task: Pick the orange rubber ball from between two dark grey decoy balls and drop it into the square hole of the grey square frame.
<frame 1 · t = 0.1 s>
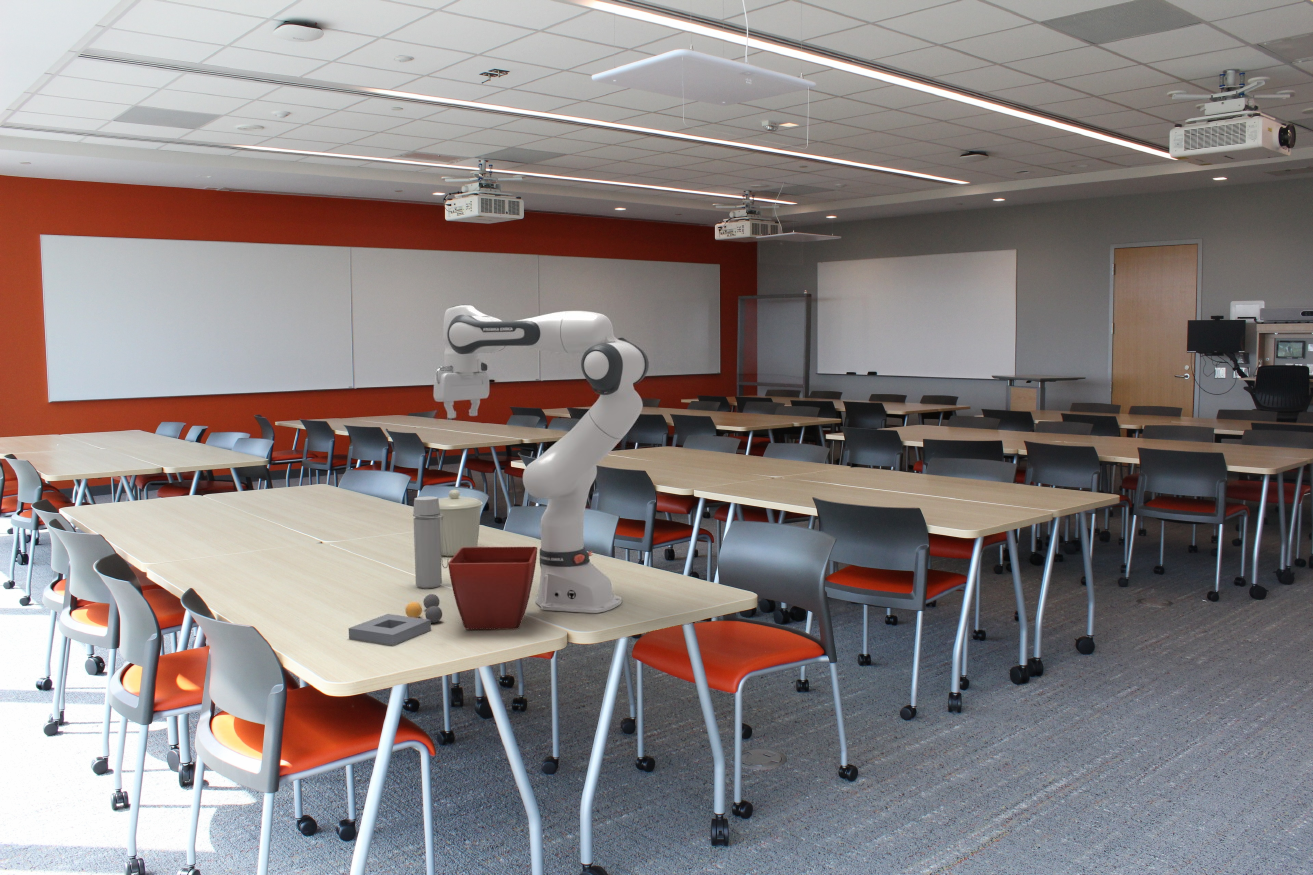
hand: (462, 416, 255), 48 cm above the table, tool pointing down, fingers open, 8 cm apart
water bottle: (432, 586, 265), on the table
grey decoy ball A: (433, 614, 228), point 2 cm above the table
canister: (456, 554, 308), on the table
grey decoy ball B: (431, 601, 240), point 2 cm above the table
grey square frame: (390, 634, 219), on the table
orange ball: (413, 610, 232), point 2 cm above the table
plant pot: (496, 623, 228), on the table
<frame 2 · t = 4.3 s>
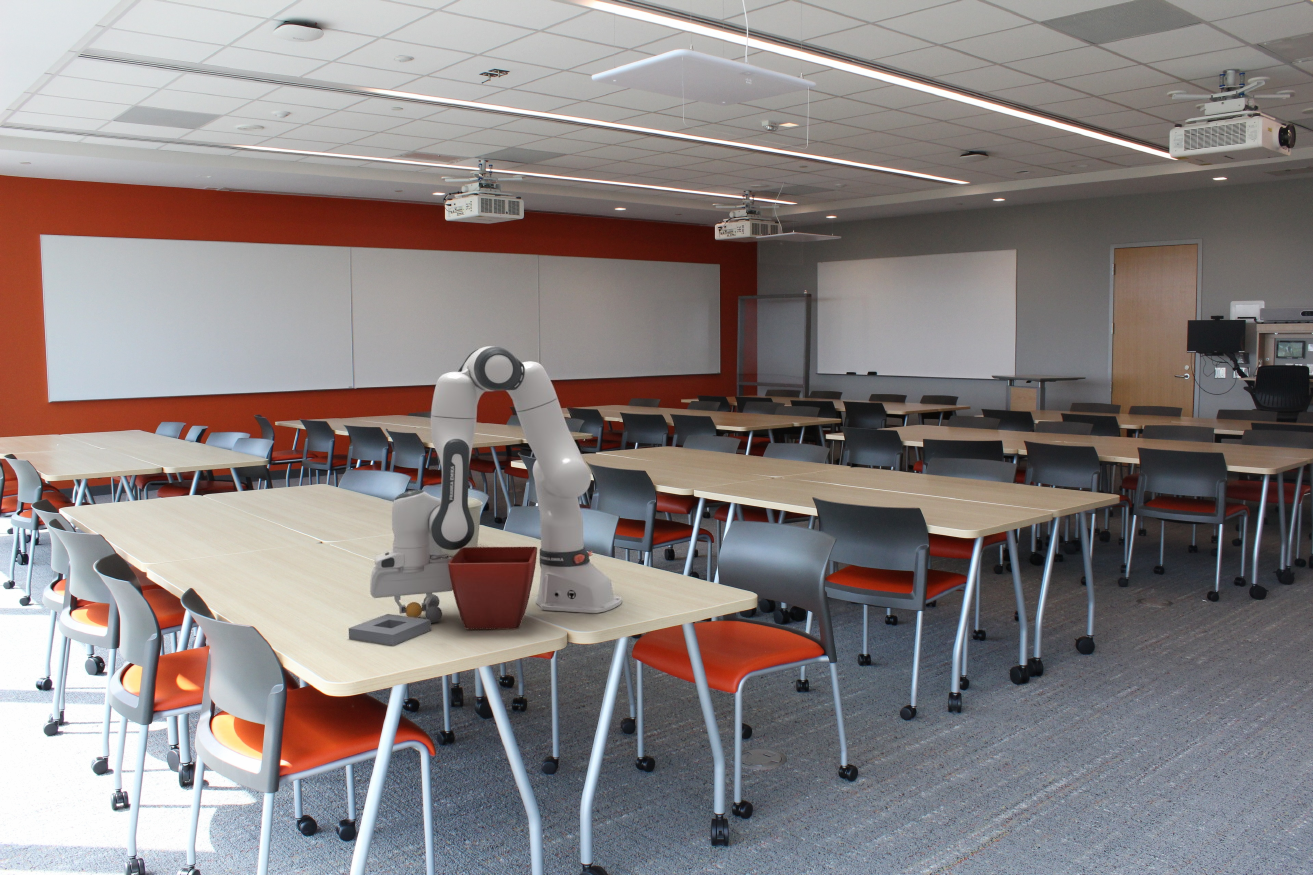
hand: (413, 611, 232), 2 cm above the table, tool pointing down, fingers closed on orange ball, 4 cm apart
orange ball: (413, 610, 232), point 2 cm above the table, touching gripper
everything else where it was.
when the fingers open (6 cm above the table, at t = 7.7 s): orange ball drops 4 cm, point 2 cm above the table.
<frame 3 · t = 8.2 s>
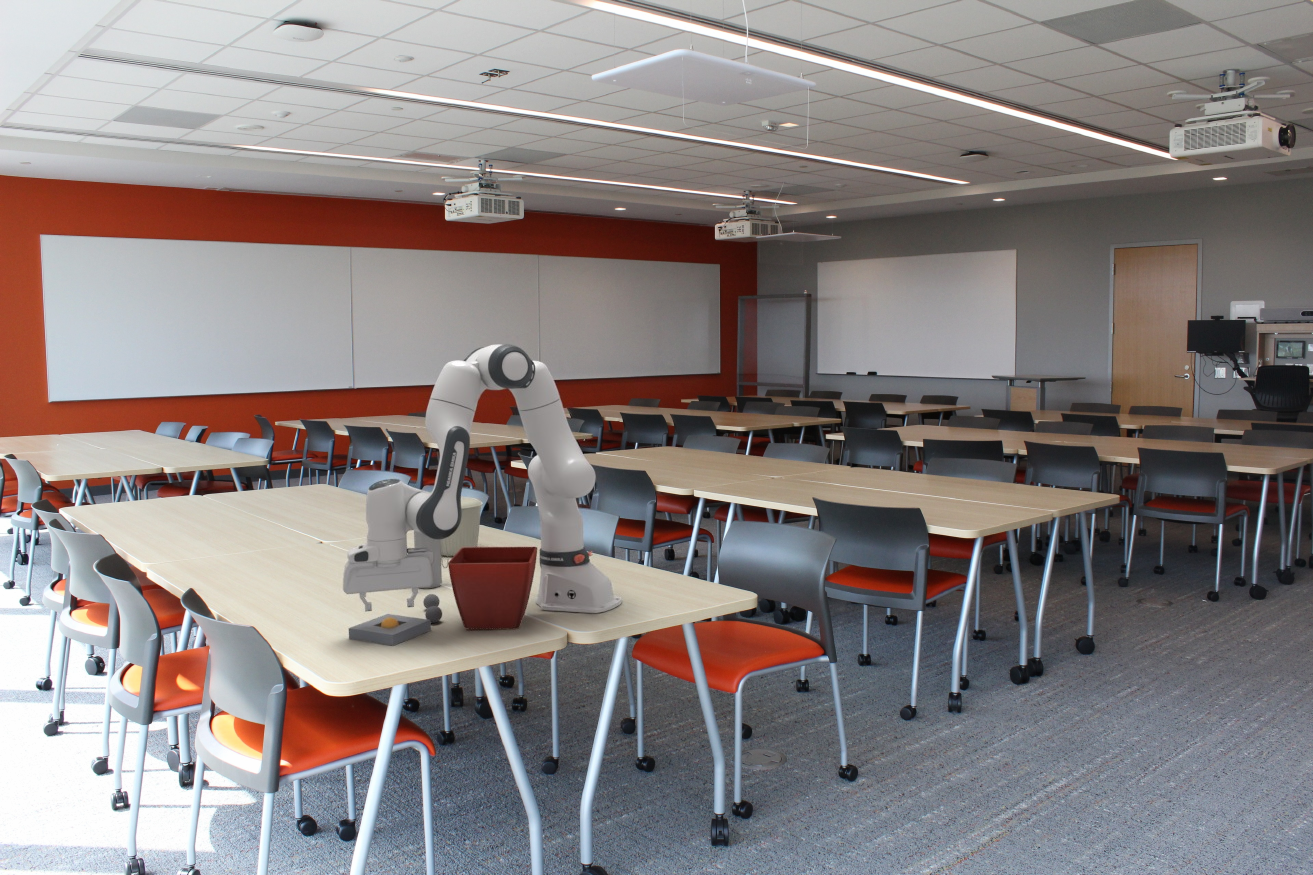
hand: (389, 608, 218), 6 cm above the table, tool pointing down, fingers open, 8 cm apart
orange ball: (389, 625, 219), point 2 cm above the table
everything else where it was.
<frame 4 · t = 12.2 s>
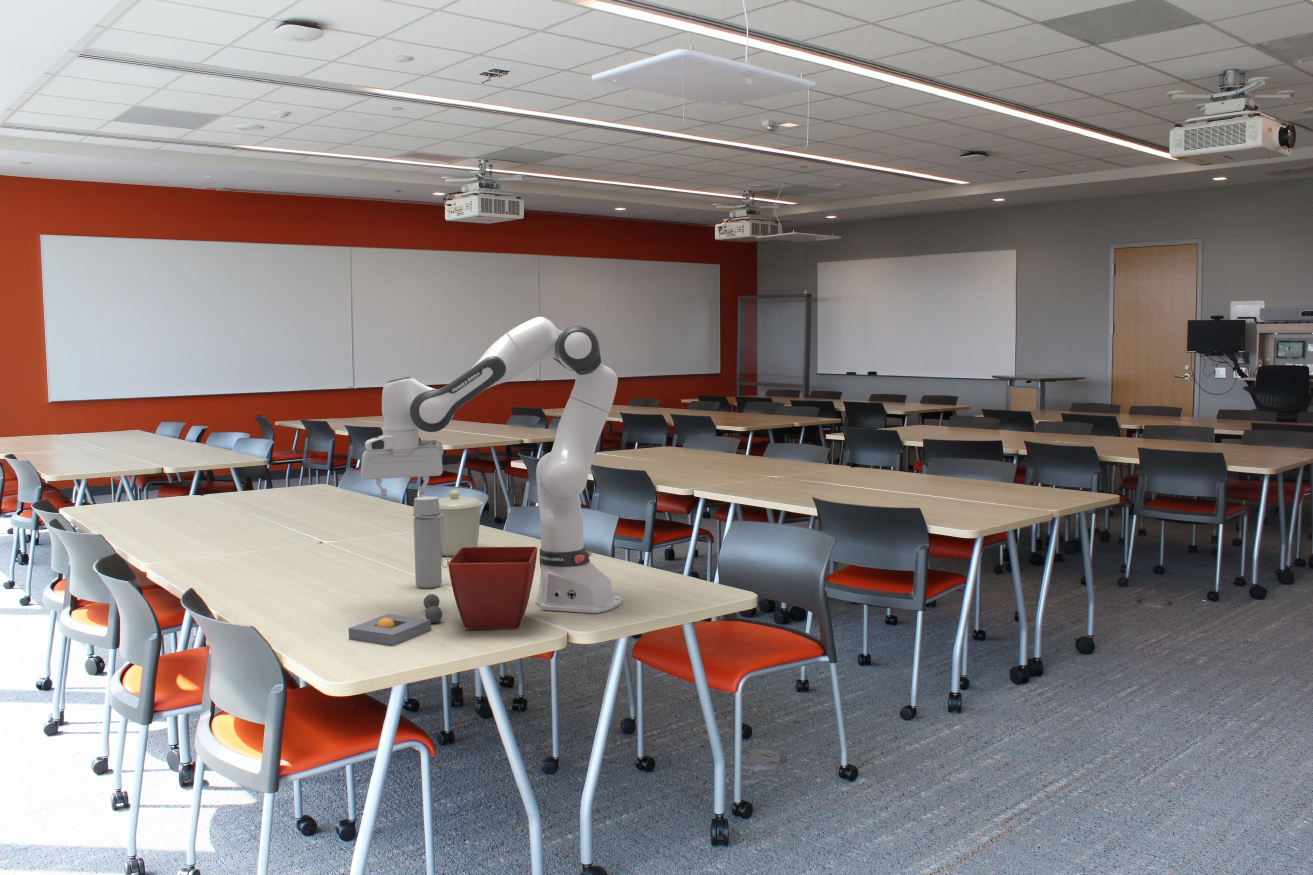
hand: (402, 494, 241), 29 cm above the table, tool pointing down, fingers open, 8 cm apart
orange ball: (385, 626, 219), point 2 cm above the table, tilted 30°
everything else where it was.
at the end: orange ball 1.0 cm off-centre on the grey square frame, point 2.0 cm above the grey square frame's base; the gripper is holding nothing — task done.
